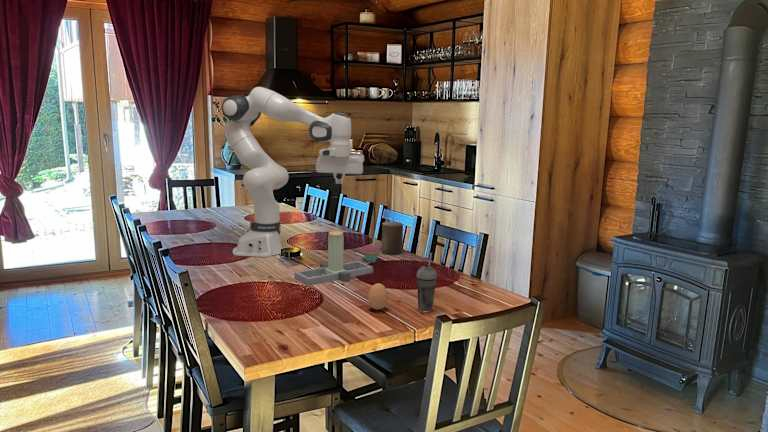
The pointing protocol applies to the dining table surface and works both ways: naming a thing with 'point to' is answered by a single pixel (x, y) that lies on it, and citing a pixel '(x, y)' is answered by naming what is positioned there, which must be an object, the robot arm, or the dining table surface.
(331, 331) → the dining table surface
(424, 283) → the beverage cup
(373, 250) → the cupcake
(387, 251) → the pillar candle
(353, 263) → the grey divided tray
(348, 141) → the robot arm
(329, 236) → the sage green tall block
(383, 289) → the egg
